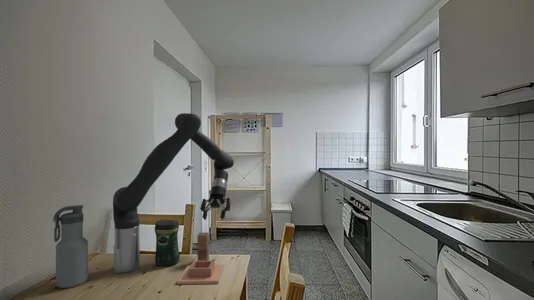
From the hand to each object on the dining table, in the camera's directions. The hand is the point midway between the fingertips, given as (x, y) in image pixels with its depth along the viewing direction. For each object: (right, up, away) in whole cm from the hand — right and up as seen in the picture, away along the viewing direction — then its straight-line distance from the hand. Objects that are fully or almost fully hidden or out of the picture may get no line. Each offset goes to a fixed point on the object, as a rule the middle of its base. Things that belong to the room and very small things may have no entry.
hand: (213, 218), depth 135 cm
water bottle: (-46, -17, -30) cm, 57 cm away
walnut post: (-2, -16, -10) cm, 19 cm away
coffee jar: (-18, -16, -11) cm, 27 cm away
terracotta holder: (0, -16, -24) cm, 29 cm away
